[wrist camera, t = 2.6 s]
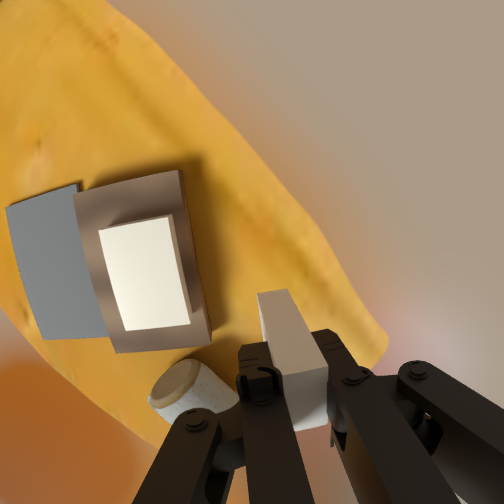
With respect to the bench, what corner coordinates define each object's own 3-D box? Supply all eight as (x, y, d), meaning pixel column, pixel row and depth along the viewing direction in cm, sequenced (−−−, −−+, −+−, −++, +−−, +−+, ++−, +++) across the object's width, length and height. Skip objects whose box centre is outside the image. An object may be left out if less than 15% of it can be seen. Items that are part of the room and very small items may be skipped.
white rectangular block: (107, 226, 23) (98, 230, 21) (172, 213, 23) (167, 217, 21) (131, 320, 25) (125, 331, 23) (192, 313, 26) (190, 324, 24)
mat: (8, 207, 24) (5, 207, 23) (78, 183, 24) (75, 183, 24) (45, 337, 28) (43, 339, 27) (116, 333, 28) (114, 336, 28)
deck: (84, 192, 24) (72, 194, 22) (182, 170, 25) (177, 169, 23) (122, 341, 29) (116, 353, 26) (211, 331, 29) (211, 344, 27)
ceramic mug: (199, 342, 29) (192, 389, 22) (247, 387, 31) (252, 436, 24) (135, 384, 30) (118, 429, 23) (182, 422, 32) (176, 468, 25)
